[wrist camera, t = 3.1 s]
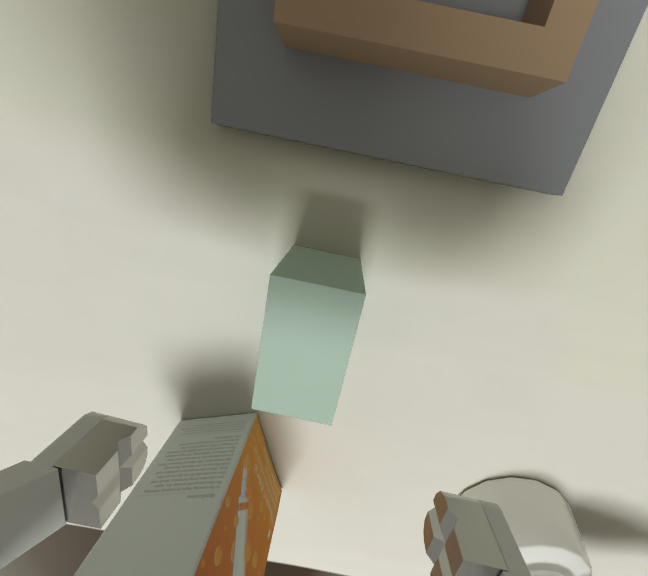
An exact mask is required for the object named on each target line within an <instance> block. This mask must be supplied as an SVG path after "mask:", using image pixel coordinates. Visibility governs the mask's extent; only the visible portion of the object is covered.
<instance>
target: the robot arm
mask: <svg viewBox="0 0 648 576" xmlns="http://www.w3.org/2000/svg"><path fill="white" fill-rule="evenodd" d="M146 436H147V426H146V425H143V424H139V423H135V422H131V421H128V420H124V419H120V418H116V417H112V416H108V415H104V414H99V413H95V412H90V413H88V414H85V415H84V416H83V417H81V418H80V419H79V420H78V421H77V422H76V423H74V424H73V425H72V426H71V427H70V428H69V429H68V430H66V431H65V432H64V433H63V434H62V435H61V436H60V437H58V438H57V439H56V440H55V441H54V442H53V443H51V444H50V445H49V446H48V447H47V448H46V449H45V450H43V451H42V452H41V453H40V454H39V455H38V456H37V457H35V458H34V459H33V460H32V461H31V462H30V461H22V462H20V463H18V464H15V465H13V466H11V467H8V468H6V469H3V470H1V471H0V569H1V568H3V567H4V566H5V565H7V564H8V563H10V562H11V561H13V560H14V559H16V558H17V557H19V556H20V555H22V554H23V553H25V552H26V551H27V550H29V549H30V548H32V547H33V546H35V545H36V544H38V543H39V542H41V541H42V540H44V539H45V538H46V537H48V536H49V535H51V534H52V533H53V532H55V531H57V530H58V529H59V528H61V527H62V526H64V525H65V524H66V522H69V523H74V524H80V525H85V526H90V527H95V528H100V529H101V528H102V526H103V525H104V523H105V522H106V521H107V519H108V518H109V517H110V515H111V514H112V512H113V511H114V510H115V508H116V507H117V506H118V504H119V503H120V498H121V491H123V490H125V489H126V488H128V487H130V486H132V485H133V483H134V482H135V481H136V479H137V478H138V476H139V475H140V473H141V471H142V469H143V467H144V464H145V462H146V458H147V446H146V444H145V443H144V442H143V440H144V439H145V437H146ZM433 501H434V505H435V508H433V509H431V510H430V511H428V513H427V515H426V518H425V522H424V531H423V532H424V543H425V549H426V553H427V555H428V556H429V558H430V559H431V560H432V562H433V563H434V566H433V568H432V571H431V573H430V575H431V576H531V574H530V572H529V570H528V567H527V565H526V563H525V561H524V559H523V556H522V554H521V552H520V550H519V548H518V545H517V543H516V541H515V539H514V537H513V534H512V532H511V530H510V528H509V526H508V523H507V521H506V519H505V517H504V515H503V512H502V510H501V508H500V507H499V506H498V505H497V504H496V503H491V502H487V501H482V500H478V499H475V498H470V497H466V496H461V495H456V494H451V493H447V492H442V491H439V492H438V493H436V495H435V498H434V500H433Z"/></svg>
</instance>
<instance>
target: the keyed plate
mask: <svg viewBox="0 0 648 576" xmlns="http://www.w3.org/2000/svg"><path fill="white" fill-rule="evenodd" d="M647 5H648V0H219V4H218V20H217V37H216V54H215V70H214V87H213V103H212V120H211V122H212V123H214V124H217V125H220V126H225V127H230V128H235V129H240V130H244V131H249V132H254V133H259V134H264V135H268V136H273V137H278V138H283V139H287V140H292V141H297V142H302V143H307V144H311V145H316V146H321V147H326V148H331V149H335V150H340V151H345V152H350V153H355V154H359V155H364V156H369V157H374V158H378V159H383V160H388V161H393V162H398V163H402V164H407V165H412V166H417V167H422V168H426V169H431V170H436V171H441V172H446V173H450V174H455V175H460V176H465V177H470V178H474V179H479V180H484V181H489V182H493V183H498V184H503V185H508V186H513V187H517V188H522V189H527V190H532V191H537V192H541V193H546V194H551V195H561V196H562V195H563V193H564V190H565V188H566V186H567V184H568V181H569V179H570V177H571V175H572V173H573V170H574V168H575V166H576V164H577V161H578V159H579V157H580V155H581V152H582V150H583V148H584V146H585V144H586V141H587V139H588V137H589V135H590V132H591V130H592V128H593V126H594V123H595V121H596V119H597V117H598V115H599V112H600V110H601V108H602V106H603V103H604V101H605V99H606V97H607V94H608V92H609V90H610V88H611V86H612V83H613V81H614V79H615V77H616V74H617V72H618V70H619V68H620V65H621V63H622V61H623V59H624V57H625V54H626V52H627V50H628V48H629V45H630V43H631V41H632V39H633V36H634V34H635V32H636V30H637V27H638V25H639V23H640V21H641V19H642V16H643V14H644V12H645V10H646V7H647Z"/></svg>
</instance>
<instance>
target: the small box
mask: <svg viewBox="0 0 648 576" xmlns="http://www.w3.org/2000/svg"><path fill="white" fill-rule="evenodd" d="M281 492H282V490H281V487H280V485H279V482H278V479H277V477H276V474H275V471H274V468H273V464H272V461H271V458H270V455H269V452H268V449H267V445H266V442H265V438H264V435H263V432H262V428H261V425H260V422H259V418H258V415H257V413H247V414H238V415H229V416H219V417H207V418H198V419H190V420H182V421H180V422H179V424H178V425H177V427H176V428H175V430H174V431H173V432H172V434H171V435H170V437H169V438H168V440H167V441H166V443H165V444H164V445H163V447H162V448H161V450H160V451H159V453H158V454H157V456H156V457H155V458H154V460H153V461H152V463H151V464H150V466H149V467H148V468H147V470H146V471H145V473H144V474H143V476H142V477H141V479H140V480H139V481H138V483H137V484H136V486H135V487H134V489H133V490H132V492H131V493H130V495H129V496H128V498H127V499H126V501H125V502H124V503H123V505H122V506H121V508H120V509H119V511H118V512H117V514H116V515H115V516H114V518H113V519H112V521H111V522H110V524H109V525H108V527H107V528H106V529H105V531H104V533H103V534H102V535H101V537H100V538H99V539H98V541H97V542H96V544H95V545H94V547H93V548H92V550H91V551H90V553H89V554H88V555H87V557H86V558H85V560H84V561H83V563H82V564H81V566H80V567H79V569H78V570H77V572H76V573H75V574H74V576H263V575H264V571H265V566H266V562H267V557H268V552H269V548H270V543H271V539H272V534H273V530H274V525H275V521H276V516H277V512H278V507H279V502H280V497H281Z"/></svg>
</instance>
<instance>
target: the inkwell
mask: <svg viewBox="0 0 648 576" xmlns="http://www.w3.org/2000/svg"><path fill="white" fill-rule="evenodd" d="M461 496H466V497H470V498H475V499H478V500H482V501H487V502H491V503H496V504H497V505H498V506H499V507H500V508H501V510H502V512H503V515H504V517H505V519H506V521H507V523H508V526H509V528H510V530H511V532H512V534H513V537H514V539H515V541H516V543H517V545H518V548H519V550H520V552H521V554H522V556H523V559H524V561H525V563H526V565H527V567H528V570H529V572H530V574H531V576H592V567H591V564H590V561H589V558H588V555H587V552H586V549H585V546H584V543H583V540H582V538H581V535H580V532H579V530H578V527H577V524H576V521H575V519H574V516H573V513H572V511H571V508H570V506H569V504H568V503H567V502H566V501H565V499H564V498H563V497H562V496H561V495H560V493H559V492H558V491H556V490H555V489H553V488H551V487H549V486H547V485H545V484H543V483H541V482H539V481H537V480H531V479H523V478H515V477H508V478H501V479H494V480H487V481H485V482H482V483H480V484H478V485H476V486H474V487H472V488H469V489H467V490H466V491H465V492H464V493H463V494H461Z"/></svg>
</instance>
